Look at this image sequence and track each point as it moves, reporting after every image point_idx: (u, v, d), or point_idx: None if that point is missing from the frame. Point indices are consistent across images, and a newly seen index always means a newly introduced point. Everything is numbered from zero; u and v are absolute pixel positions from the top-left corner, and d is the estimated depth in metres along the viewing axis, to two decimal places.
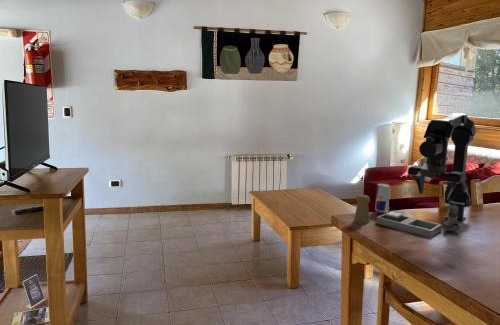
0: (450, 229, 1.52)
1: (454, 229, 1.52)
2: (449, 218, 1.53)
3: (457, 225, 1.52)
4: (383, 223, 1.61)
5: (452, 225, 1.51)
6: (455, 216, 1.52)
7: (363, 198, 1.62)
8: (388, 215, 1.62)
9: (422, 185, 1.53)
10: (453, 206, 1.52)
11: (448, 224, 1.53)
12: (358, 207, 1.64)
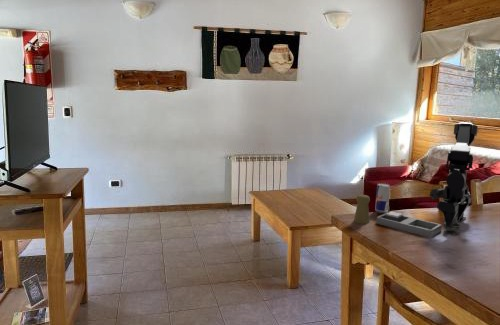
0: (450, 229, 1.52)
1: (454, 229, 1.52)
2: None
3: (457, 225, 1.52)
4: (383, 223, 1.61)
5: (452, 225, 1.51)
6: (455, 216, 1.52)
7: (363, 198, 1.62)
8: (388, 215, 1.62)
9: (458, 213, 1.56)
10: None
11: None
12: (358, 207, 1.64)
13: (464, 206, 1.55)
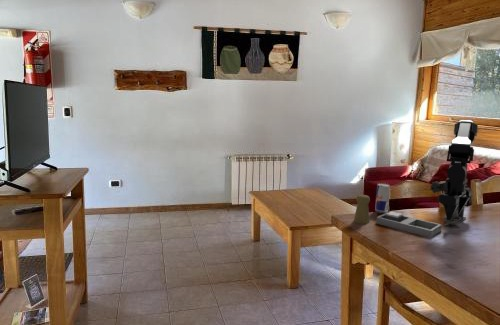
0: (451, 222, 1.52)
1: (455, 222, 1.51)
2: None
3: (458, 218, 1.51)
4: (383, 223, 1.61)
5: (453, 219, 1.51)
6: (456, 209, 1.51)
7: (363, 198, 1.62)
8: (388, 215, 1.62)
9: (459, 206, 1.55)
10: None
11: None
12: (358, 207, 1.64)
13: (465, 199, 1.54)
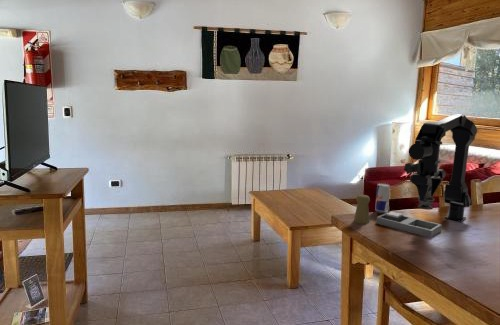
0: (424, 203, 1.52)
1: (428, 203, 1.51)
2: None
3: (431, 199, 1.51)
4: (383, 223, 1.61)
5: (426, 199, 1.51)
6: (429, 190, 1.51)
7: (363, 198, 1.62)
8: (388, 215, 1.62)
9: (432, 188, 1.56)
10: None
11: None
12: (358, 207, 1.64)
13: (438, 180, 1.54)
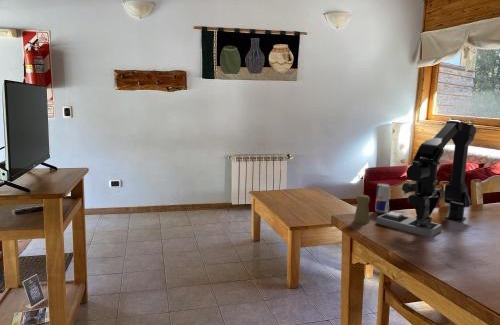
0: (422, 223, 1.53)
1: (426, 223, 1.53)
2: None
3: (429, 219, 1.53)
4: (383, 223, 1.61)
5: (424, 219, 1.53)
6: (427, 210, 1.53)
7: (363, 198, 1.62)
8: (388, 215, 1.62)
9: (430, 207, 1.57)
10: None
11: None
12: (358, 207, 1.64)
13: (436, 200, 1.56)
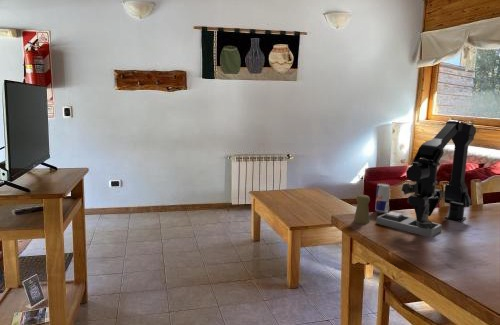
0: (416, 224, 1.56)
1: (418, 225, 1.55)
2: None
3: (421, 222, 1.53)
4: (383, 223, 1.61)
5: (417, 221, 1.55)
6: None
7: (363, 198, 1.62)
8: (388, 215, 1.62)
9: (430, 208, 1.57)
10: None
11: (416, 219, 1.56)
12: (358, 207, 1.64)
13: (436, 201, 1.56)
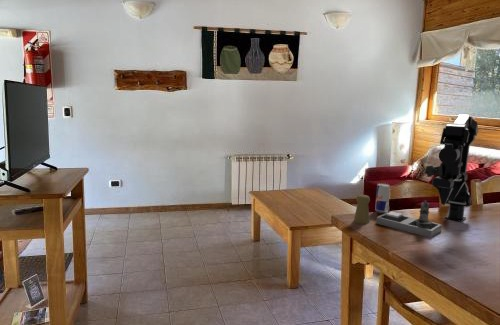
0: (416, 224, 1.56)
1: (418, 225, 1.55)
2: None
3: (421, 222, 1.53)
4: (383, 223, 1.61)
5: (417, 221, 1.55)
6: (421, 213, 1.54)
7: (363, 198, 1.62)
8: (388, 215, 1.62)
9: (454, 191, 1.53)
10: (422, 203, 1.54)
11: (416, 219, 1.56)
12: (358, 207, 1.64)
13: (460, 183, 1.51)
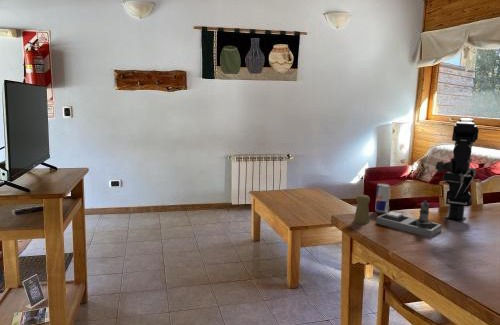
0: (416, 224, 1.56)
1: (418, 225, 1.55)
2: None
3: (421, 222, 1.53)
4: (383, 223, 1.61)
5: (417, 221, 1.55)
6: (421, 213, 1.54)
7: (363, 198, 1.62)
8: (388, 215, 1.62)
9: (463, 186, 1.59)
10: (422, 203, 1.54)
11: (416, 219, 1.56)
12: (358, 207, 1.64)
13: (469, 178, 1.58)
